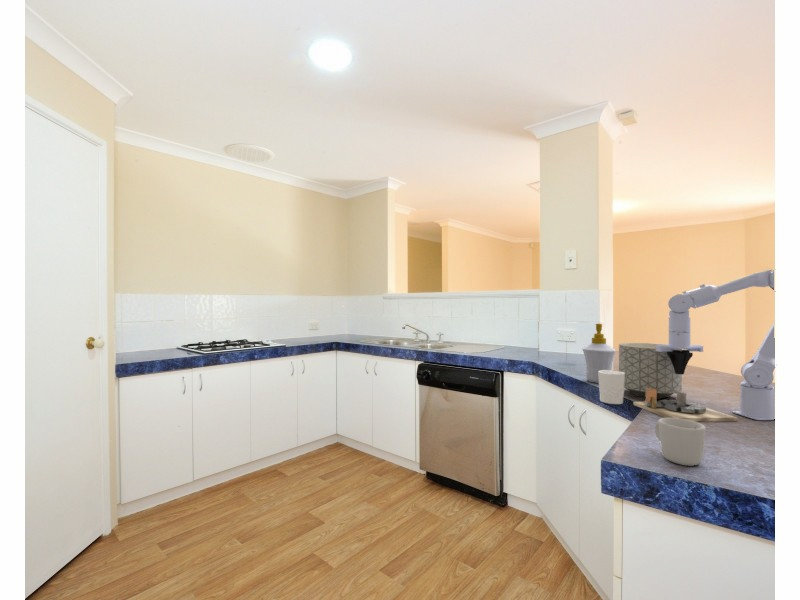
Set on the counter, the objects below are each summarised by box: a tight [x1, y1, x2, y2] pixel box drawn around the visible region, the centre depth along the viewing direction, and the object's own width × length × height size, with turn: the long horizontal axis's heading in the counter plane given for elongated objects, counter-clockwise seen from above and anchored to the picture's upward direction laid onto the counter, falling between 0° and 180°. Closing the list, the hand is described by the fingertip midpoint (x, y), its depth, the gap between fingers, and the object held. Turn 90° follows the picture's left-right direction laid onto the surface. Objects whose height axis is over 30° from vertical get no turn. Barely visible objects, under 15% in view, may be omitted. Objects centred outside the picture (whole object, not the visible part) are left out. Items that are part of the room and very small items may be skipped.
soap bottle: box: [581, 323, 617, 384], centre depth 164 cm, size 13×13×25 cm
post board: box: [633, 391, 738, 422], centre depth 118 cm, size 18×18×6 cm
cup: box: [654, 417, 707, 467], centre depth 82 cm, size 11×8×8 cm
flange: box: [643, 388, 707, 413], centre depth 118 cm, size 15×11×5 cm
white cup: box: [598, 370, 625, 405], centre depth 130 cm, size 8×8×10 cm
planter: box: [618, 342, 683, 399], centre depth 139 cm, size 19×19×18 cm
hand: (679, 373), depth 125 cm, fingers closed
